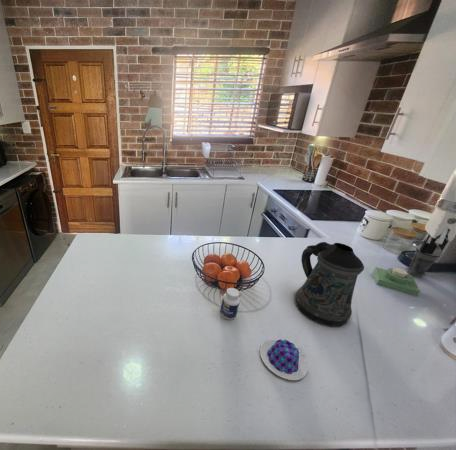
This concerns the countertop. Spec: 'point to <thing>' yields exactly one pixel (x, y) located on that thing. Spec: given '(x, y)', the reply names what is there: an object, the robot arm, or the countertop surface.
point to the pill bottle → (230, 304)
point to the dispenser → (395, 281)
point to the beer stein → (328, 283)
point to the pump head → (399, 272)
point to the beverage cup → (422, 262)
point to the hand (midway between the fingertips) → (425, 252)
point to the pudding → (283, 359)
